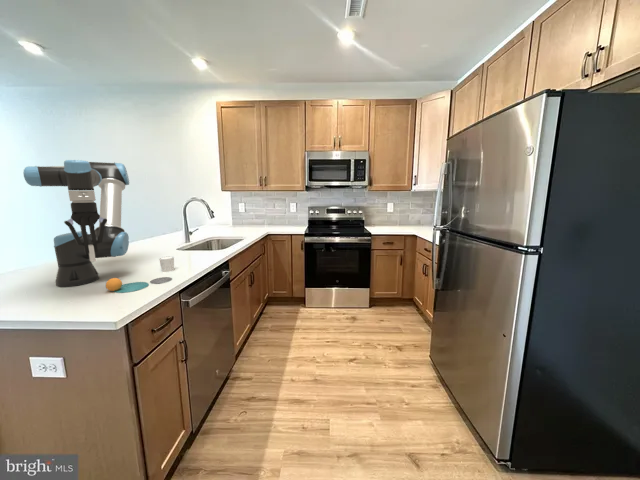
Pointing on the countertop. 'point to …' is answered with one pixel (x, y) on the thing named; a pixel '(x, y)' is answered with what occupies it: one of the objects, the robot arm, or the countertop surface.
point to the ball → (113, 284)
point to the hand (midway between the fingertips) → (92, 260)
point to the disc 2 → (160, 280)
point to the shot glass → (167, 264)
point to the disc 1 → (132, 287)
